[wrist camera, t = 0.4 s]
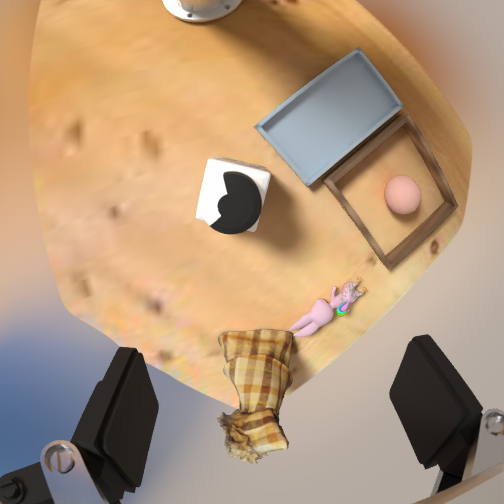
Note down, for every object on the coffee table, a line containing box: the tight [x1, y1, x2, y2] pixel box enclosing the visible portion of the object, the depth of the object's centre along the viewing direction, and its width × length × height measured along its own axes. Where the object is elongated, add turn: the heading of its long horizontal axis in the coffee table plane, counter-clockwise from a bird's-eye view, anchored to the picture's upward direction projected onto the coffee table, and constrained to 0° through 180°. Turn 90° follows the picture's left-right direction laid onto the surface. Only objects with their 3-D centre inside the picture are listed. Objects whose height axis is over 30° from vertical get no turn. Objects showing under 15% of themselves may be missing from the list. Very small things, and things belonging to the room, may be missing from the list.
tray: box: [254, 47, 404, 187], centre depth 37 cm, size 11×20×2 cm, turn 132°
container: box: [196, 156, 271, 234], centre depth 35 cm, size 8×8×13 cm
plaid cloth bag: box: [217, 329, 293, 464], centre depth 42 cm, size 14×14×25 cm
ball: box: [385, 175, 421, 214], centre depth 39 cm, size 6×6×6 cm
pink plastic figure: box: [290, 275, 368, 337], centre depth 47 cm, size 6×6×15 cm
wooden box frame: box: [322, 114, 458, 270], centre depth 41 cm, size 18×17×3 cm
